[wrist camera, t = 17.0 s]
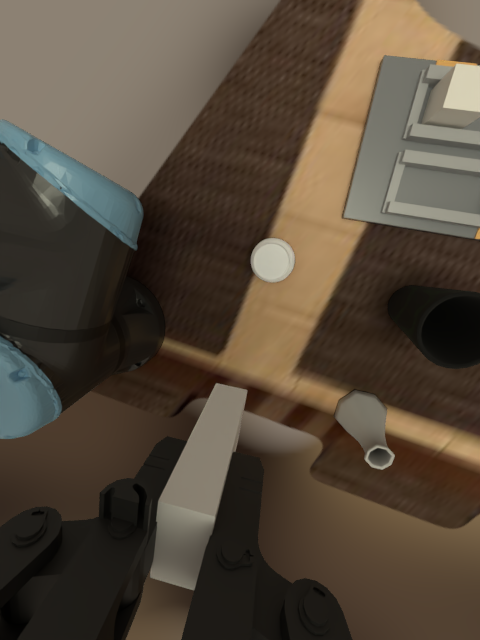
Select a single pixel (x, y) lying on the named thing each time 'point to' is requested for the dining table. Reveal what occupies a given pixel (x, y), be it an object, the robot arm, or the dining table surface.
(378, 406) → the flask
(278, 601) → the robot arm
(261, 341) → the dining table surface
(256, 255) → the pill bottle
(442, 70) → the switch board
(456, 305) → the cup
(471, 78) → the tab
